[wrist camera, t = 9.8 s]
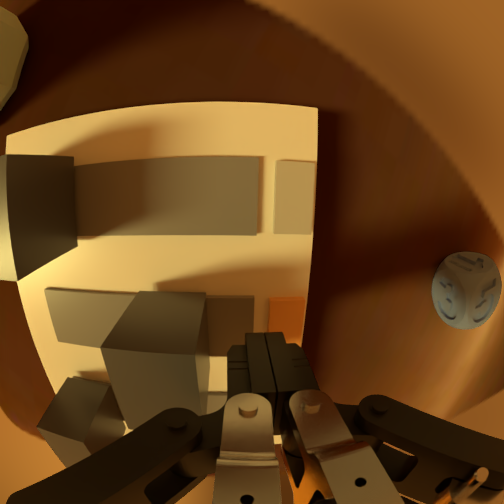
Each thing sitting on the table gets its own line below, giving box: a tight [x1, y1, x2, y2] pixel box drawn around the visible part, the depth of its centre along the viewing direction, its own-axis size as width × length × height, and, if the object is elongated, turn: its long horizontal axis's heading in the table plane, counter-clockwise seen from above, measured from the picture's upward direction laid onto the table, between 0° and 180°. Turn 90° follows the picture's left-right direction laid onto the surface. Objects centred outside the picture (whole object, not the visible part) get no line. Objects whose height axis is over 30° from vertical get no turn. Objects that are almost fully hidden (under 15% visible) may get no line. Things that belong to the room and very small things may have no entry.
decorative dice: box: [432, 252, 502, 329], centre depth 14 cm, size 4×4×4 cm
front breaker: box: [0, 154, 78, 281], centre depth 8 cm, size 3×4×4 cm
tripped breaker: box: [100, 291, 210, 430], centre depth 10 cm, size 3×4×4 cm
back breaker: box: [37, 377, 126, 468], centre depth 11 cm, size 3×4×4 cm
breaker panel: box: [6, 102, 318, 444], centre depth 14 cm, size 16×20×3 cm
